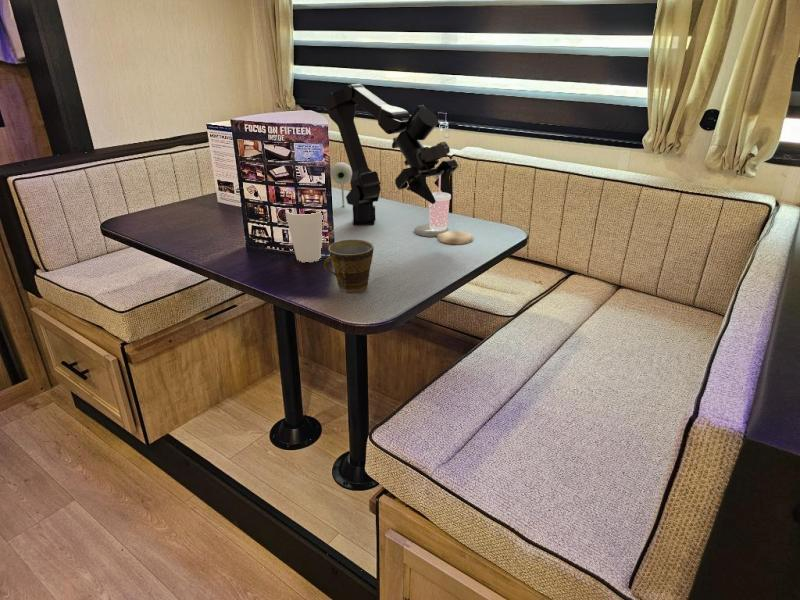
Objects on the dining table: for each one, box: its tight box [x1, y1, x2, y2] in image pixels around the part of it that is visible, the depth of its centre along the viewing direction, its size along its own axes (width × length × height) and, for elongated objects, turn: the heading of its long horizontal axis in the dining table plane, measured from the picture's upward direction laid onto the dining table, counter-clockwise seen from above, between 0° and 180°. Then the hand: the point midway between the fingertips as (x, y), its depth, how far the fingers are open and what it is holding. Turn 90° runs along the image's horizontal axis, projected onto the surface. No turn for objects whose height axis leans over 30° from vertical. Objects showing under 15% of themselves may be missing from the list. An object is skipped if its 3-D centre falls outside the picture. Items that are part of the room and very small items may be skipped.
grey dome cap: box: [413, 223, 449, 238], centre depth 160 cm, size 10×10×1 cm
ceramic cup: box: [323, 239, 375, 295], centre depth 121 cm, size 13×10×10 cm
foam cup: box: [284, 209, 324, 263], centre depth 139 cm, size 10×9×13 cm
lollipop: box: [330, 161, 352, 207], centre depth 182 cm, size 7×7×15 cm
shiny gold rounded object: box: [436, 230, 473, 245], centre depth 154 cm, size 10×10×1 cm
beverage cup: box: [428, 175, 452, 231], centre depth 142 cm, size 6×6×14 cm
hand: (442, 200), depth 141 cm, fingers closed on beverage cup, 6 cm apart
